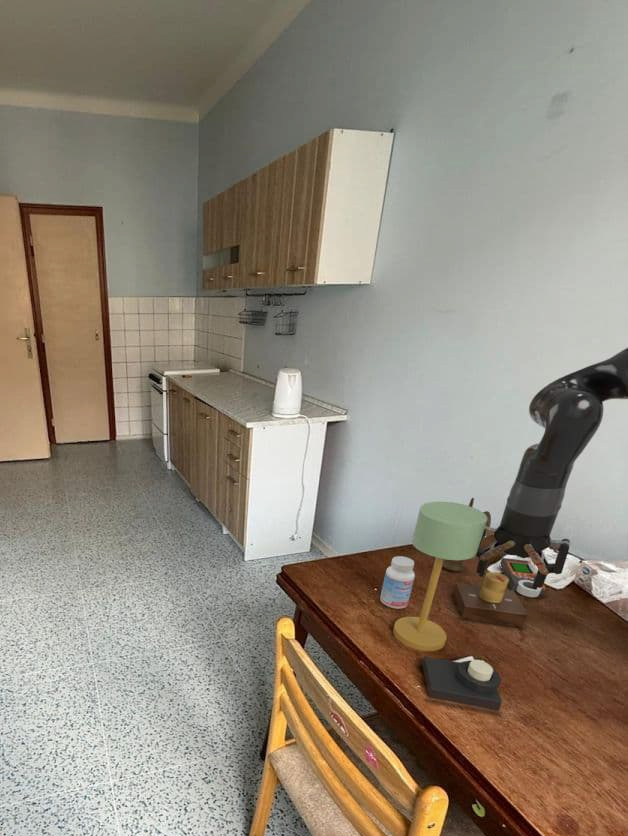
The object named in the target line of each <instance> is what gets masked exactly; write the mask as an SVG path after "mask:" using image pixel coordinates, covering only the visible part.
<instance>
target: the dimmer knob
mask: <svg viewBox="0 0 628 836" xmlns="http://www.w3.org/2000/svg"><path fill="white" fill-rule="evenodd" d="M508 582H509V578H508V577H507V576H505V575H504V573H501V572H497V571H489V572H485V574H484V577H483V582H482V585H481V586H482V587H481V590H480V593H479V597H480V598H481V599H483V600H485V601H487V602H491V603H499V602H501V601H502V598H503V595H504V592H505V590H506V589H507V587H508V585H509V584H508Z"/></svg>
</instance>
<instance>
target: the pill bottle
mask: <svg viewBox="0 0 628 836" xmlns="http://www.w3.org/2000/svg"><path fill="white" fill-rule="evenodd" d="M414 566H415V561H414V560H413V559H412V558H409V557H406V556H402V555H398V556H393V557H392V559H391V562H390V566H388V567H387V568H386V571H385V574H384V579H383V583H382V586H381V592H380V597H379V600H380V603H382V604H383V606H386V607H388V608H391V609H393V610H394V609H396V610H401V609H402V610H403V609H405V608H406V607H407V606H408V605H409V600H410V597H411V593H412V589H413V586H414V581H415V577H416V574H415V571H414V570H413V569H414V568H415V567H414Z"/></svg>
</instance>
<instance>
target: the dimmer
mask: <svg viewBox="0 0 628 836" xmlns="http://www.w3.org/2000/svg"><path fill="white" fill-rule="evenodd" d="M481 587H482V585H476V584H475V585H474V584H467V583H458V582H456V583H455V586H454V589H453V592H452V594H453V598H454V600H455V602H456V605H457V608H458V611H459V613H460V617H462V618H467V619H474V620H481V621H488V622H495V623H502V624H508V625H515V626H521V627H523V626H524V624H525V622H526V619H527V618H528V613H527V611H526V609H525V608H524V606H523V603H522V602H521V601H520V599H519V597H518V595H517V593H516V591H514V590H511V589H507V588H506V590H505V592H504V595H503V598H502V601H501V602H499V603H491V602H487V601H485V600H483V599H481V598H480V597H479V593H480V590H481Z"/></svg>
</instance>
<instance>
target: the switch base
mask: <svg viewBox="0 0 628 836" xmlns="http://www.w3.org/2000/svg"><path fill="white" fill-rule="evenodd" d="M471 661H472V660H465V661H461V662H460V661H454V660H448V659H442V658H436V657H432V656H431V657H429V656H424V657H423V661H422V664H421V666H422V670H423V675H424V680H425V681H424V682H425V686H426V691H427V695H428V698H430V699H435V700H440V701H445V702H450V703H451V702H452V703H455V704H461V705H466V706H471V707H476V708H482V709H488V710H494V711H500V708H501V706H502V703H503V701H502V698H501V695H500V692H499V690H498V689H499V687H500V684H501V681H502V679H501V676H500V673H499V672H498V671H497V670H495V669H494V668H493V673H492V676H491V678H490V680H488V681H480V680H477V679H475V678H473V677H471V676H470V675H469V674H468V671H467V670H468V667H469V665H470V662H471Z"/></svg>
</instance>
